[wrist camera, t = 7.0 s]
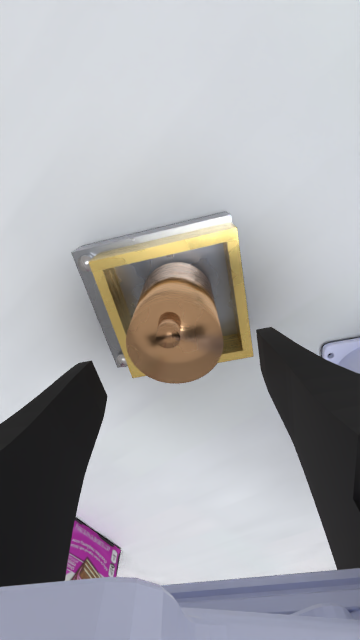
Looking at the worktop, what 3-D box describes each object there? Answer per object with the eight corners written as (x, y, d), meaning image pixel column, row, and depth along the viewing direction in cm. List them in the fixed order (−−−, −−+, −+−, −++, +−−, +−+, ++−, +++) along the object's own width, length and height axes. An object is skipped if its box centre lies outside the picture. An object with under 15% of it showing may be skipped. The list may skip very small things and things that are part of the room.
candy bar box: (123, 547, 37) (84, 789, 22) (96, 557, 38) (41, 792, 23) (64, 506, 33) (-32, 770, 18) (35, 519, 34) (-77, 775, 19)
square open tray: (242, 330, 22) (255, 361, 18) (122, 353, 23) (110, 386, 19) (226, 211, 18) (237, 219, 14) (81, 245, 19) (56, 261, 15)
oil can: (215, 321, 19) (231, 398, 13) (150, 330, 19) (133, 408, 13) (208, 256, 17) (222, 308, 10) (135, 267, 17) (106, 324, 11)
